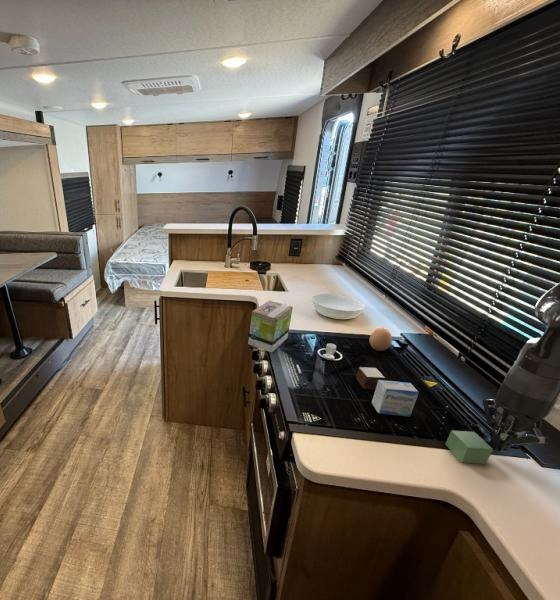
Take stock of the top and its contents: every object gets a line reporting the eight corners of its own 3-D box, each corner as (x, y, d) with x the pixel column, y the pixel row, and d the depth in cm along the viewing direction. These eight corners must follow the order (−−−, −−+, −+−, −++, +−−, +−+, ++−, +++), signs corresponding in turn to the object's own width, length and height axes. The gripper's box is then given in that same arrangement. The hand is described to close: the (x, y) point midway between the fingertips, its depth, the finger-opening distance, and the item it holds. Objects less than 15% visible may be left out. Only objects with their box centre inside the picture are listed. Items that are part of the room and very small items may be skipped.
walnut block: (372, 381, 97) (375, 367, 96) (380, 391, 93) (385, 377, 91) (355, 380, 98) (358, 367, 96) (363, 390, 93) (367, 376, 91)
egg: (391, 350, 113) (397, 328, 110) (384, 357, 110) (391, 334, 106) (371, 343, 118) (377, 322, 115) (364, 349, 115) (369, 327, 111)
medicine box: (377, 414, 84) (385, 389, 81) (370, 403, 88) (378, 378, 85) (410, 418, 82) (419, 392, 79) (401, 406, 86) (410, 381, 83)
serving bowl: (361, 328, 130) (365, 314, 127) (307, 318, 140) (310, 305, 137) (360, 311, 146) (364, 297, 143) (312, 303, 156) (314, 290, 153)
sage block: (466, 447, 73) (474, 431, 72) (484, 465, 69) (493, 449, 67) (444, 446, 74) (451, 430, 72) (460, 464, 69) (468, 447, 67)
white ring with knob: (330, 364, 106) (332, 354, 105) (311, 353, 113) (313, 343, 111) (347, 357, 110) (349, 348, 108) (327, 347, 116) (329, 338, 115)
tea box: (272, 354, 113) (277, 318, 107) (247, 345, 119) (250, 310, 114) (288, 339, 123) (293, 305, 117) (264, 331, 129) (268, 299, 124)
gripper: (589, 411, 57) (545, 477, 63) (520, 369, 69) (489, 428, 75) (543, 408, 58) (505, 473, 64) (483, 367, 70) (456, 426, 76)
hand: (496, 449), depth 70 cm, fingers closed
